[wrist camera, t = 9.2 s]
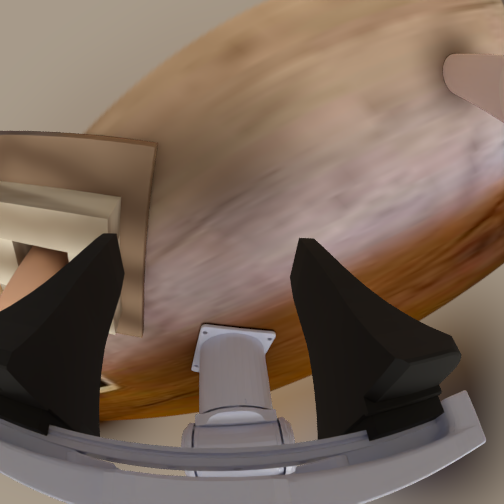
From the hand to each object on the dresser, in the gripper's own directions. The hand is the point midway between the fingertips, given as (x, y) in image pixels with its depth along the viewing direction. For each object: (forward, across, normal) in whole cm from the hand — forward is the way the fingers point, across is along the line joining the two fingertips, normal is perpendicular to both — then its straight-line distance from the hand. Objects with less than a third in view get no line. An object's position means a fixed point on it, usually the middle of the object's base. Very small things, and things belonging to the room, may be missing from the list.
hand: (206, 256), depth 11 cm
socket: (+10, +13, +7) cm, 18 cm away
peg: (+9, +13, +7) cm, 17 cm away
